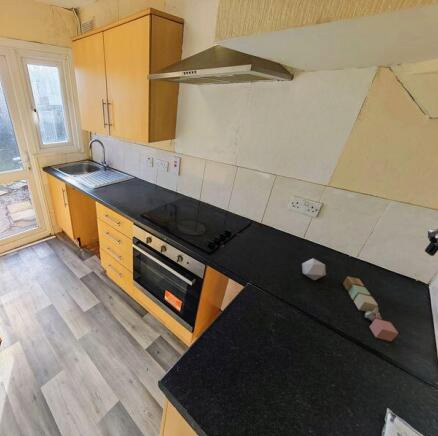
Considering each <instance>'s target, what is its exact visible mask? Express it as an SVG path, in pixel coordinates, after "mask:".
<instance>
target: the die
mask: <svg viewBox="0 0 438 436" xmlns="http://www.w3.org/2000/svg"><path fill="white" fill-rule="evenodd" d="M301 269H302V274H303V275H305V276H306V277H308V278H310V279H311V280H313V281H317V280H318V279H320V278H323V277H324V276H326V275H327V273H326V264H324V263H323V262H321V261H320V260H317V259H315V258H313V257H312V258H311V259H308V260H306V261H304V262H303V263H301Z"/></svg>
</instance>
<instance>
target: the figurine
mask: <svg viewBox="0 0 438 436" xmlns="http://www.w3.org/2000/svg"><path fill="white" fill-rule="evenodd" d="M364 318H366V319H368V320H369V321H371V322H372V323H373V321H374V320H375V319H379V320H383V317H382V316H381V313H380V312H379V307H378V306H377V307H376V308H375V310H374V311H373V312H372V311H365V313H364Z"/></svg>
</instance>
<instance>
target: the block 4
mask: <svg viewBox="0 0 438 436" xmlns="http://www.w3.org/2000/svg"><path fill="white" fill-rule="evenodd" d="M369 329H370V330H371V332H372V334H373V336H374V337H375V338H376V339H380V340H384V341H387V342H392V341H393V340H395V338H396V337H397V336H398V334H399V332H398V331H397V329H396V328H395V325H393V323H392V322H390V321H386V320H383V319H382V320H379V319H375V320H374V321H373V322H372V323H371V324H370V325H369Z"/></svg>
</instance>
